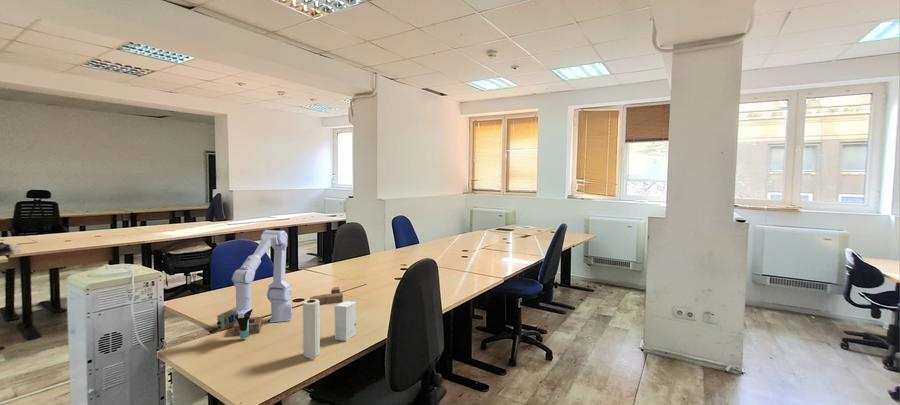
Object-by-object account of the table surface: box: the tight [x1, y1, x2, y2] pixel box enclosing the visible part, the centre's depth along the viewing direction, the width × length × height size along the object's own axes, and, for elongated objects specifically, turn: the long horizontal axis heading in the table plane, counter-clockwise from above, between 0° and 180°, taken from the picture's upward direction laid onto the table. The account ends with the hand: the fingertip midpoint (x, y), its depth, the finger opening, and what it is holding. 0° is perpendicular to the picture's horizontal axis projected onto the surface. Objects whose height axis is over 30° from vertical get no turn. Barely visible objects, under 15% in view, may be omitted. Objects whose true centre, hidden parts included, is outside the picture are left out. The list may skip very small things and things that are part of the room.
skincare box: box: [334, 300, 357, 342], centre depth 169 cm, size 8×6×15 cm
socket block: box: [233, 316, 263, 337], centre depth 175 cm, size 10×10×4 cm
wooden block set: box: [309, 286, 344, 305], centre depth 220 cm, size 17×6×18 cm
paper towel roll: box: [302, 298, 321, 360], centre depth 151 cm, size 7×6×21 cm
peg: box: [239, 319, 250, 339], centre depth 165 cm, size 3×3×9 cm
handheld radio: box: [208, 308, 238, 334], centre depth 182 cm, size 7×3×25 cm
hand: (244, 328), depth 165 cm, fingers closed on peg, 3 cm apart
